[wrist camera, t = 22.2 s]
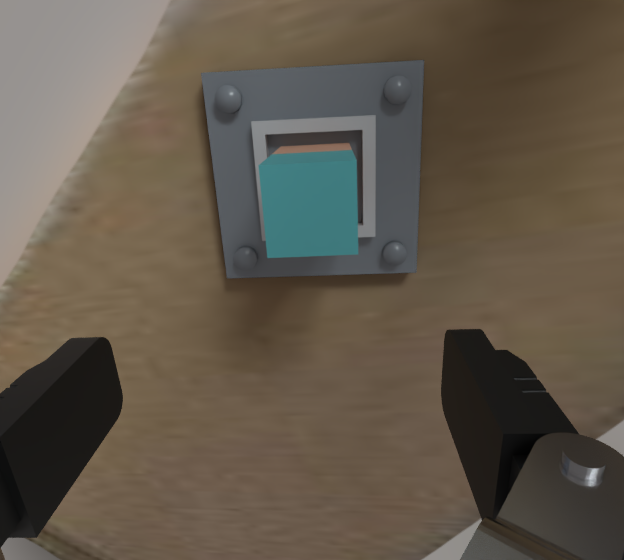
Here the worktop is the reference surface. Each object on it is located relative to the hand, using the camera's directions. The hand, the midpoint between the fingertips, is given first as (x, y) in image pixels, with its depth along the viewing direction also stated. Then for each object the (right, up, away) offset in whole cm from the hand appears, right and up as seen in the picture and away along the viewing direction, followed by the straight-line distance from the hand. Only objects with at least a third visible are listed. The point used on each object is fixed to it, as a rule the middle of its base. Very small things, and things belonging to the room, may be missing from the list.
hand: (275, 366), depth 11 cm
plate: (+1, +11, +28) cm, 30 cm away
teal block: (+1, +8, +21) cm, 23 cm away
